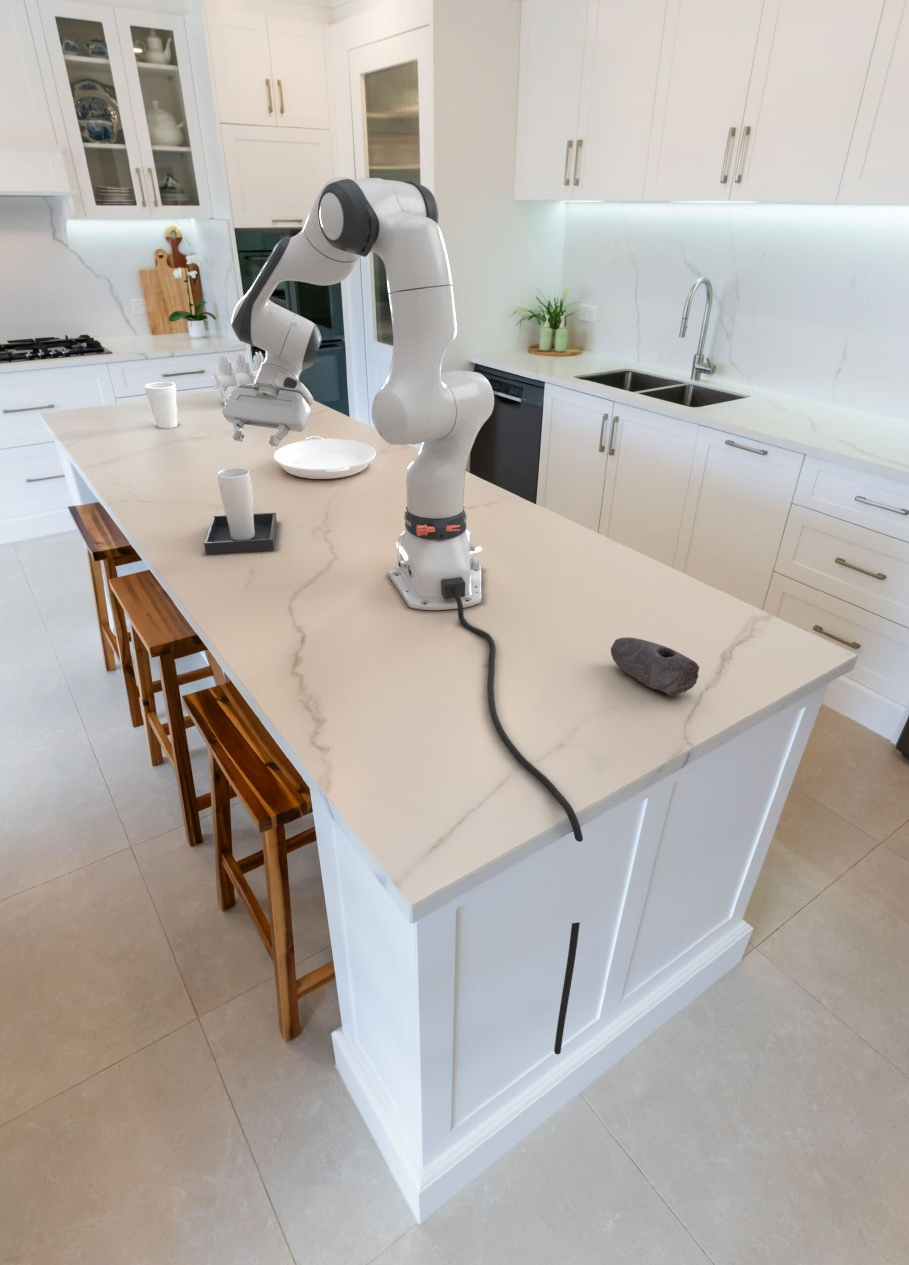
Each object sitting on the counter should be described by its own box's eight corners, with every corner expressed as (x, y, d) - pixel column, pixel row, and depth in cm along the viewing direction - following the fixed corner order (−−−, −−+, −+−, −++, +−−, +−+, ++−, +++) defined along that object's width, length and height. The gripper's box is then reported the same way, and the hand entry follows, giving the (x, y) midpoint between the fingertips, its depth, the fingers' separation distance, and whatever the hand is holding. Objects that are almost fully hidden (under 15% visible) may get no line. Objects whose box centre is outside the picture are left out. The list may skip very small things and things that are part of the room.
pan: (392, 480, 199) (391, 464, 197) (286, 492, 190) (285, 476, 188) (359, 445, 226) (358, 431, 223) (265, 455, 217) (263, 440, 214)
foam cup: (153, 423, 245) (145, 382, 239) (182, 421, 248) (175, 381, 241) (152, 430, 238) (144, 389, 231) (182, 428, 240) (175, 387, 233)
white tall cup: (250, 544, 161) (241, 478, 153) (222, 542, 162) (211, 476, 154) (263, 532, 167) (255, 468, 159) (235, 530, 168) (226, 466, 160)
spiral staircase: (217, 413, 272) (283, 403, 281) (222, 402, 256) (292, 391, 265) (203, 363, 269) (270, 354, 279) (208, 348, 253) (279, 340, 262)
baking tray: (274, 550, 159) (272, 539, 157) (206, 554, 157) (204, 543, 155) (277, 523, 172) (275, 512, 171) (214, 526, 170) (212, 515, 169)
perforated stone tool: (599, 666, 121) (604, 630, 117) (620, 655, 124) (625, 620, 120) (676, 709, 111) (684, 671, 108) (696, 696, 114) (705, 658, 110)
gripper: (228, 375, 165) (207, 429, 162) (307, 383, 158) (287, 440, 155) (243, 391, 170) (223, 444, 168) (320, 400, 164) (301, 455, 161)
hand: (255, 442), depth 161 cm, fingers open, 8 cm apart
